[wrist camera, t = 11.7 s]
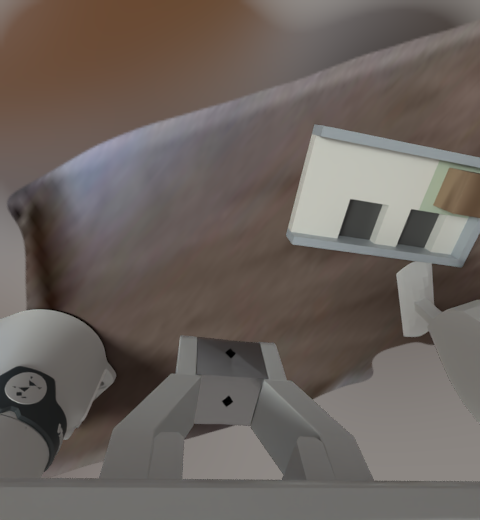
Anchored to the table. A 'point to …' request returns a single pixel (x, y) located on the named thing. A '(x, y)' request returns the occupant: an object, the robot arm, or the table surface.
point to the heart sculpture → (444, 331)
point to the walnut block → (460, 193)
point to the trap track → (379, 199)
